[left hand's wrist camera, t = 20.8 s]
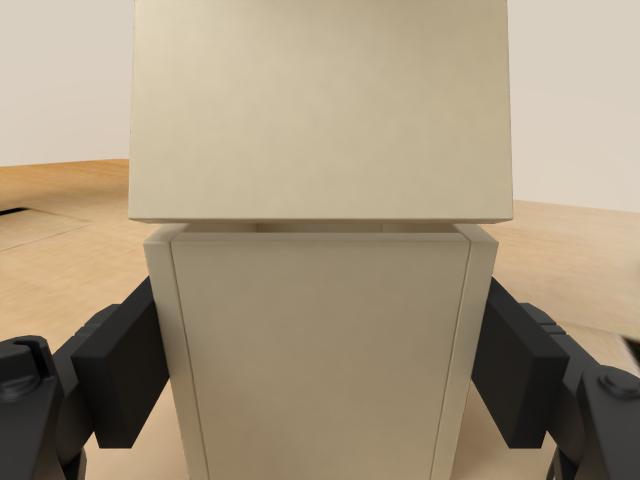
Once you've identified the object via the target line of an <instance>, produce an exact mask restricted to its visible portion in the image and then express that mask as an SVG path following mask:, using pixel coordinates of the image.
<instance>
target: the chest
mask: <svg viewBox="0 0 640 480" xmlns="http://www.w3.org/2000/svg"><path fill="white" fill-rule="evenodd" d="M143 246H144V251H145V256H146V261H147V266H148V271H149V276H150V281H151V286H152V291H153V296H154V301H155V306H156V311H157V316H158V321H159V327H160V332H161V337H162V342H163V347H164V352H165V357H166V362H167V367H168V372H169V377H170V382H171V387H172V392H173V397H174V402H175V407H176V412H177V417H178V422H179V427H180V432H181V437H182V442H183V448H184V453H185V458H186V463H187V468H188V473H189V478H190V480H450V478H451V473H452V468H453V464H454V459H455V454H456V449H457V444H458V439H459V434H460V429H461V424H462V420H463V415H464V410H465V405H466V400H467V395H468V390H469V385H470V380H471V374H472V369H473V364H474V359H475V354H476V349H477V344H478V340H479V335H480V330H481V325H482V320H483V315H484V310H485V305H486V300H487V297H488V292H489V288H490V283H491V278H492V273H493V268H494V263H495V258H496V253H497V248H498V241H497V240H495V239H494V238H493V237H491V236H490V235H489V234H488V233H486V232H485V231H484V230H483V229H481V228H480V227H479V226H478V225H476V224H177V223H166V224H164V225H163V226H162V227H161V228H160V229H158V230H157V231H156V232H155V233H153V234H152V235H151V236H150V237H148V238H147V239H146V240H145V241H144V242H143Z"/></svg>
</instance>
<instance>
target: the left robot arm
mask: <svg viewBox="0 0 640 480" xmlns="http://www.w3.org/2000/svg"><path fill="white" fill-rule="evenodd" d="M169 378H170V377H169V372H168V367H167V362H166V357H165V352H164V347H163V342H162V337H161V332H160V327H159V321H158V316H157V311H156V306H155V301H154V296H153V291H152V286H151V281H150V276H148V277H147V278H146V279H145V280H144V281H143V282H142V283H141V284H140V285H139V286H138V287H137V288H136V289H135V290H134V291H133V292H132V293H131V294H130V295H129V296H128V297H127V298H126V300H125V301H124V302H123V303H122V304H112V305H110V306H108V307H106V308H105V309H103V310H101V311H99V312H98V313H96V314H95V315H94V316H93V317H92V318H91V319H90V320H89V321H88V322H86V323H85V324H84V327H81V328H80V329H79V330H78V331H77V332H76V333H75V336H72V337H71V338H70V339H69V340H68V341H67V342H66V343H64V344H63V345H62V346H61V347H60V348H59V349H58V350H57V351H56V352H55V353H54V354H53V355H52V354H51V352H50V349H49V346H48V343H47V340H46V339H44V338H43V337H41V336H34V335H28V336H21V337H15V338H12V339H8V340H5V341H2V342H0V480H85V472H86V463H87V459H86V453H85V450H84V447H83V446H84V445H85V443H86V442H87V440H88V439H89V437H90V436H91V434H92V433H93V432H94V433H95V436H96V439H97V442H98V445H99V448H132V446H133V444H134V442H135V441H136V439H137V437H138V435H139V433H140V431H141V429H142V428H143V426H144V424H145V422H146V420H147V418H148V417H149V415H150V413H151V411H152V409H153V407H154V405H155V404H156V402H157V400H158V398H159V396H160V394H161V392H162V391H163V389H164V387H165V385H166V383H167V381H168V380H169ZM471 379H472V381H473V383H474V384H475V386H476V388H477V390H478V392H479V394H480V396H481V397H482V399H483V401H484V403H485V405H486V407H487V408H488V410H489V412H490V414H491V416H492V418H493V420H494V421H495V423H496V425H497V427H498V429H499V431H500V432H501V434H502V436H503V438H504V440H505V442H506V444H507V445H508V447H509V449H541V447H542V443H543V440H544V437H545V434H546V431H548V432H549V433H550V435H551V436H552V438H553V439H554V441H555V442H556V444H557V447H556V450H555V453H554V456H553V459H552V462H551V465H550V467H549V470H548V473H547V477H546V480H553V478H554V476H555V479H556V480H640V378H638V377H636V376H634V375H632V374H630V373H629V372H626V371H623V370H621V369H618V368H615V367H611V366H605V365H600V364H599V363H598V362H597V361H596V360H595V359H594V358H593V357H591V356H590V355H589V354H588V353H587V352H586V351H585V350H584V349H583V348H582V347H581V346H580V345H579V344H578V343H577V342H576V341H575V340H574V339H572V338H571V337H570V336H569V335H566V332H565V331H564V330H563V329H562V328H561V327H560V326H559V325H556V322H555V321H553V320H552V319H551V318H550V317H549V316H548V315H547V314H546V313H545V312H543V311H542V310H540V309H538V308H536V307H535V306H533V305H531V304H529V303H518V302H517V301H516V300H515V299H514V298H513V297H512V296H511V295H510V294H509V293H508V292H507V291H506V290H505V289H504V288H503V287H502V286H501V285H500V284H499V283H498V282H497V281H496V280H495V279H494V278H493V277H492V278H491V283H490V288H489V292H488V297H487V300H486V305H485V310H484V315H483V320H482V325H481V330H480V335H479V340H478V344H477V349H476V354H475V359H474V364H473V369H472V374H471Z"/></svg>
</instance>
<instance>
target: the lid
mask: <svg viewBox="0 0 640 480" xmlns="http://www.w3.org/2000/svg"><path fill="white" fill-rule="evenodd" d="M128 219H130V220H134V221H138V222H143V223H177V224H495V223H500V222H505V221H510V220H512V219H513V190H512V154H511V120H510V86H509V51H508V16H507V0H134V32H133V65H132V98H131V131H130V164H129V197H128Z"/></svg>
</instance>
